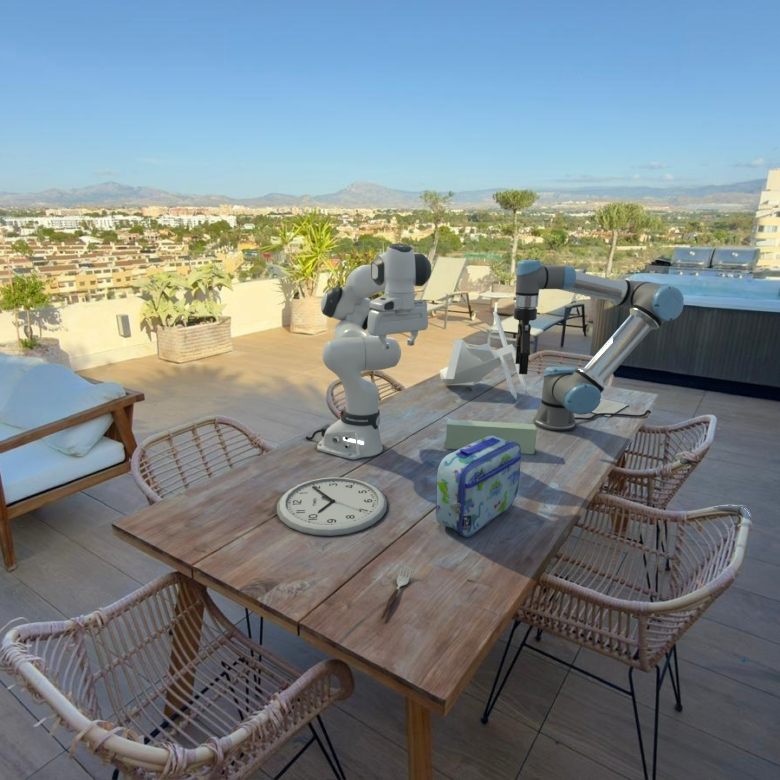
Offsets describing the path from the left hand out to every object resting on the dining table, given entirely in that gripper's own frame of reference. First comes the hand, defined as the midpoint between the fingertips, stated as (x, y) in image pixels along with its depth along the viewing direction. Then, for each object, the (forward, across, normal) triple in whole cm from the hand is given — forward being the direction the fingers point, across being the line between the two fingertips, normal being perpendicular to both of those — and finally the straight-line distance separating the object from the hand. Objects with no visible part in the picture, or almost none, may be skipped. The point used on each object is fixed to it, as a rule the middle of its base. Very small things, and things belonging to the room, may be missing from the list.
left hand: (398, 347), depth 158 cm
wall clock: (+38, +31, +14) cm, 51 cm away
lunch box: (+38, +2, +40) cm, 55 cm away
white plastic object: (+39, -76, -40) cm, 94 cm away
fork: (+37, +38, +53) cm, 75 cm away
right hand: (+12, -47, +8) cm, 49 cm away
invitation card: (+39, -107, +3) cm, 114 cm away
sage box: (+38, -33, +9) cm, 52 cm away
